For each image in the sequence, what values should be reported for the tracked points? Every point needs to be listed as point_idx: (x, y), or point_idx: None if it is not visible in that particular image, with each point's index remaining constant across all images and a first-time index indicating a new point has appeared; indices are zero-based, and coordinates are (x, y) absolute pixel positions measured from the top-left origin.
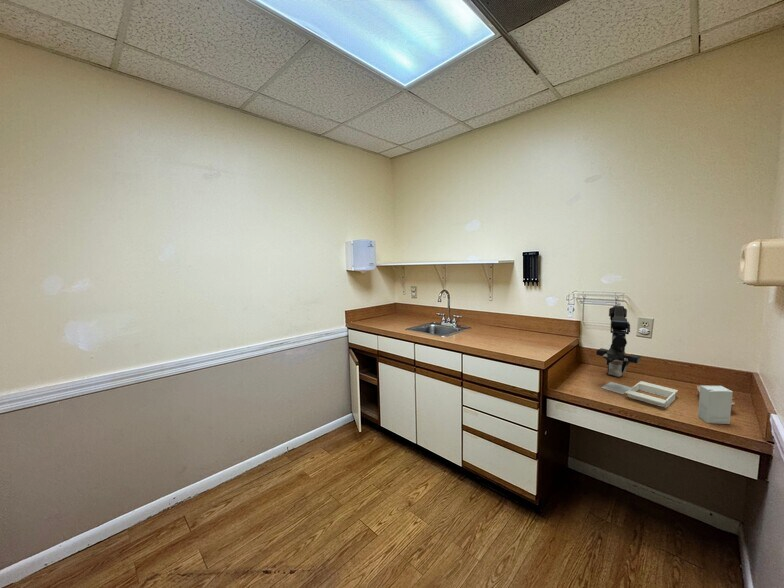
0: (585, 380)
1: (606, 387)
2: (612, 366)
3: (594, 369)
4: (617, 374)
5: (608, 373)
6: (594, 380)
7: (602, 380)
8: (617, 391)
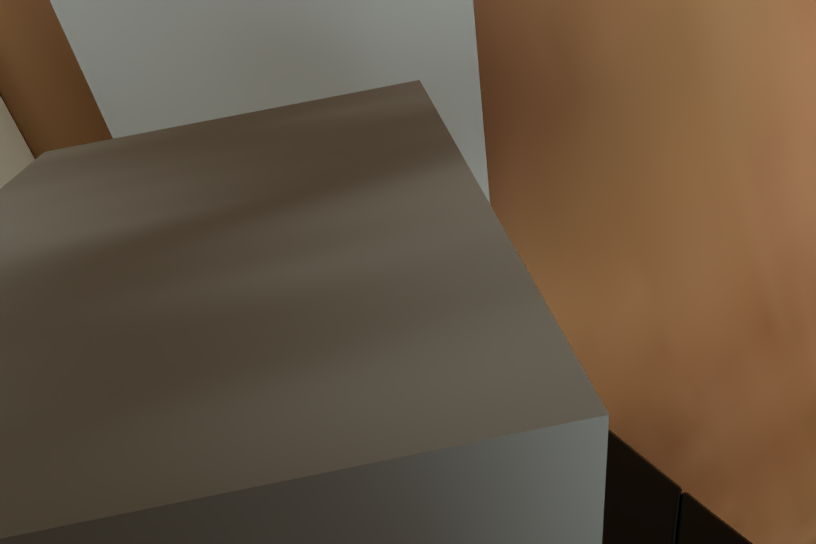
0: (809, 40)
1: (406, 19)
2: (260, 312)
3: (788, 483)
4: (86, 170)
5: (421, 88)
6: (689, 180)
7: (602, 281)
8: (177, 11)
